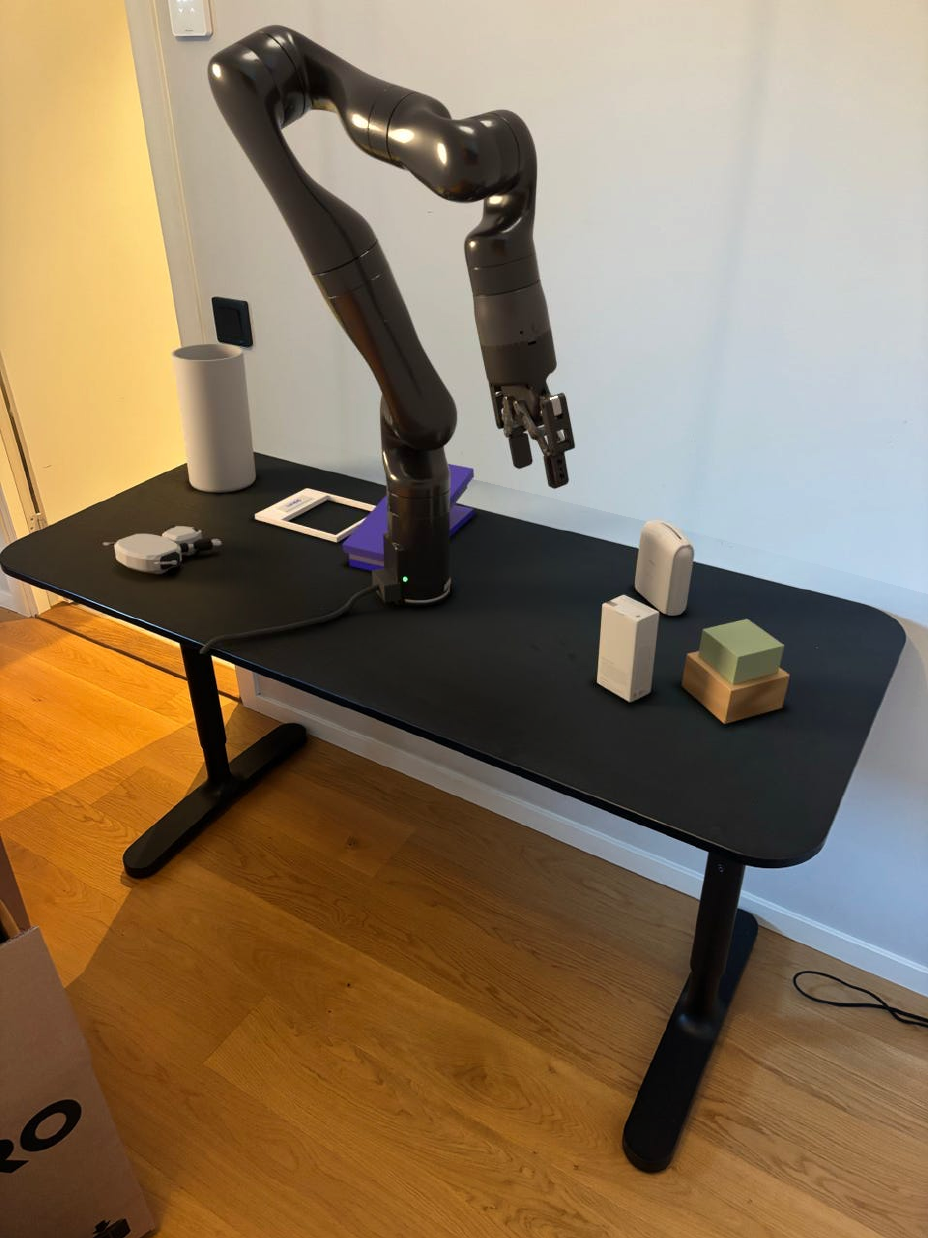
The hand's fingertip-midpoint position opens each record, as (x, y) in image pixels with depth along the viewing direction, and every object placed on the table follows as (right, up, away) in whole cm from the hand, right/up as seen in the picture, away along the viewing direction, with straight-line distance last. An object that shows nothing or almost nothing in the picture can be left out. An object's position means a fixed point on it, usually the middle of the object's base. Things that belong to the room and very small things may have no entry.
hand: (540, 475), depth 102 cm
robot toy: (-57, -7, +45) cm, 73 cm away
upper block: (+26, -22, +12) cm, 36 cm away
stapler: (-17, -3, +54) cm, 57 cm away
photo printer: (+21, -13, +37) cm, 44 cm away
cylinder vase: (-56, +10, +75) cm, 94 cm away
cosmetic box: (+12, -25, +16) cm, 32 cm away
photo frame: (-34, +2, +61) cm, 70 cm away
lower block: (+26, -26, +15) cm, 40 cm away
